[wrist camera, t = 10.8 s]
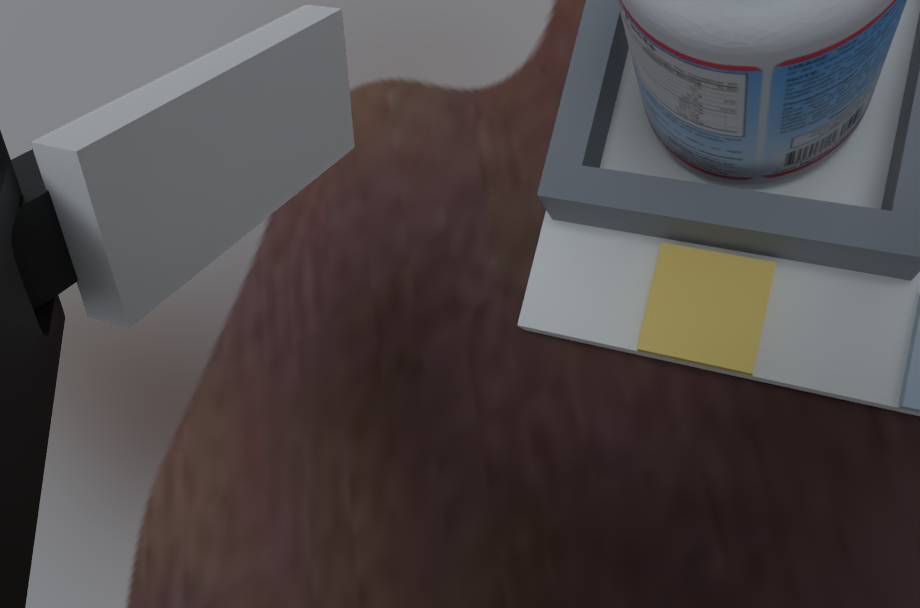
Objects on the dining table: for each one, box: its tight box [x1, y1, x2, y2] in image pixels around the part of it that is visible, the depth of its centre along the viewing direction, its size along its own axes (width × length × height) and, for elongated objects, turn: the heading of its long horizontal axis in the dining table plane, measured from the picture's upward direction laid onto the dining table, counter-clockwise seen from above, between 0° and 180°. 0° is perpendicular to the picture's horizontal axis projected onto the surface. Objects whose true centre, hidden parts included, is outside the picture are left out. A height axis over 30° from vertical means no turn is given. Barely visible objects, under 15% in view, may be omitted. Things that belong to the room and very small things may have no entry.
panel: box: [517, 0, 920, 416], centre depth 22 cm, size 14×16×3 cm
